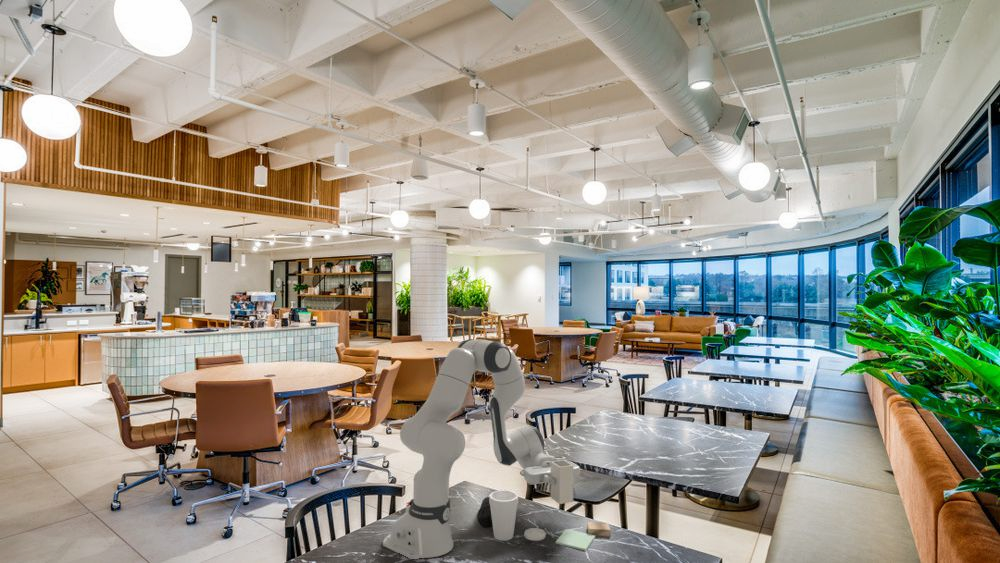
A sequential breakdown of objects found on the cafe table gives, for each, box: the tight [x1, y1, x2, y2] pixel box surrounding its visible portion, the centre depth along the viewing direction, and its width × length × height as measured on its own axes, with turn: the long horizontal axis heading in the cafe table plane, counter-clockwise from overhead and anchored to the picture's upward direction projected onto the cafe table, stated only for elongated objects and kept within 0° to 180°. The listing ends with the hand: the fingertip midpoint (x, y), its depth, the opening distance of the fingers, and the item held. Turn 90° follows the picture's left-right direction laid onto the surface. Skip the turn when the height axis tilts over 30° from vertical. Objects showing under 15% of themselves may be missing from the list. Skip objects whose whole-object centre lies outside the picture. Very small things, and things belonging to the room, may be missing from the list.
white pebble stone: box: [523, 527, 546, 542], centre depth 164 cm, size 7×7×1 cm
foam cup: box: [488, 489, 519, 541], centre depth 164 cm, size 10×9×13 cm
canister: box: [550, 460, 574, 505], centre depth 168 cm, size 6×5×12 cm
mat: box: [555, 528, 596, 552], centre depth 161 cm, size 10×10×1 cm
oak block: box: [586, 521, 611, 537], centre depth 166 cm, size 7×5×2 cm
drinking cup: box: [476, 496, 493, 529], centre depth 173 cm, size 8×8×20 cm
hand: (563, 480), depth 167 cm, fingers closed on canister, 5 cm apart
